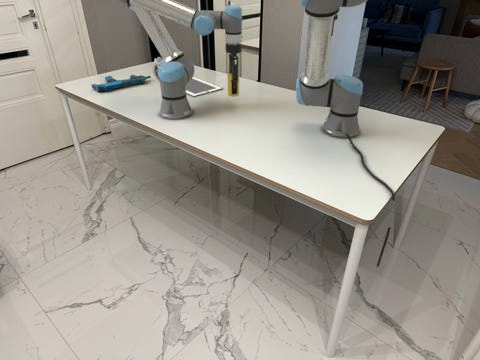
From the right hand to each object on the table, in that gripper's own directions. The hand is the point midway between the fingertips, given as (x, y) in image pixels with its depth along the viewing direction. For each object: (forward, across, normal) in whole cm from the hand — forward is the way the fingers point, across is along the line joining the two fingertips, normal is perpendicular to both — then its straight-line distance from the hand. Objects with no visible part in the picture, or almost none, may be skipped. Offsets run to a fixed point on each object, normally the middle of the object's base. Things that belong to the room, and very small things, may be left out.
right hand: (323, 33), depth 161 cm
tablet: (+34, -41, -61) cm, 81 cm away
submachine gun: (+34, -55, -104) cm, 122 cm away
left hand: (+26, -3, -43) cm, 51 cm away
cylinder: (+28, -3, -43) cm, 52 cm away
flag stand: (+34, -88, -76) cm, 122 cm away
